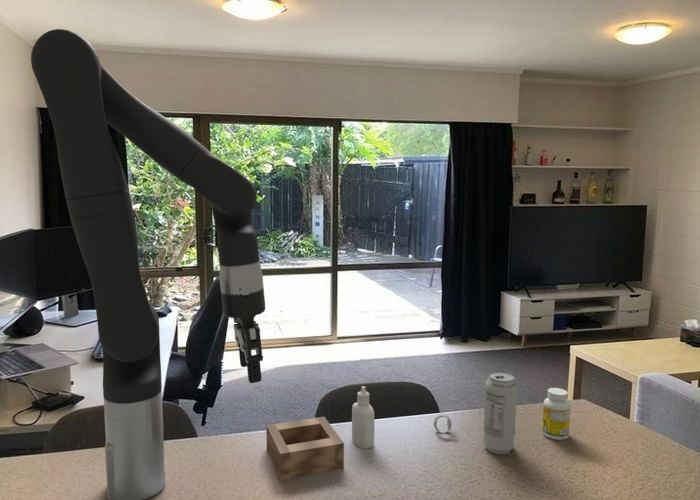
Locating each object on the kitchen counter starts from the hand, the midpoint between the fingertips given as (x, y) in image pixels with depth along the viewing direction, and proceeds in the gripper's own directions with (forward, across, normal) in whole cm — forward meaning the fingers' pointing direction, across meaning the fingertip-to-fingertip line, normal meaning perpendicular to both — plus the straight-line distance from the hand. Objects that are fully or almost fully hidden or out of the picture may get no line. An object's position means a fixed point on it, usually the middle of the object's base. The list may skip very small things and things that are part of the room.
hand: (250, 373), depth 102 cm
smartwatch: (+22, 0, +39) cm, 45 cm away
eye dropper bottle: (+20, -1, +21) cm, 29 cm away
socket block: (+19, +1, +8) cm, 21 cm away
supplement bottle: (+23, +9, +61) cm, 66 cm away
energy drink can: (+22, +10, +46) cm, 52 cm away
